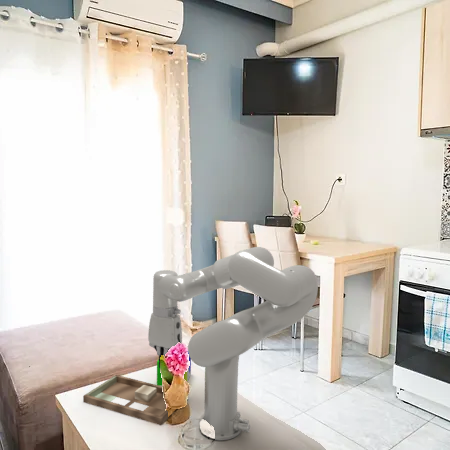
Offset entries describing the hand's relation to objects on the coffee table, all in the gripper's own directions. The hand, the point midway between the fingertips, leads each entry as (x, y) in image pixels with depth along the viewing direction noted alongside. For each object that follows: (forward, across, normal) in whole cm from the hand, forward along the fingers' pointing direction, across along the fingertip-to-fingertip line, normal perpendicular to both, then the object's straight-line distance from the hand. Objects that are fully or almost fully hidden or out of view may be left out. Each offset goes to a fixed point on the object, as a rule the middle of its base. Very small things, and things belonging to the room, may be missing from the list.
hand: (164, 366), depth 128 cm
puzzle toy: (+14, +5, -14) cm, 20 cm away
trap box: (+13, +8, +3) cm, 16 cm away
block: (+12, +7, 0) cm, 14 cm away
